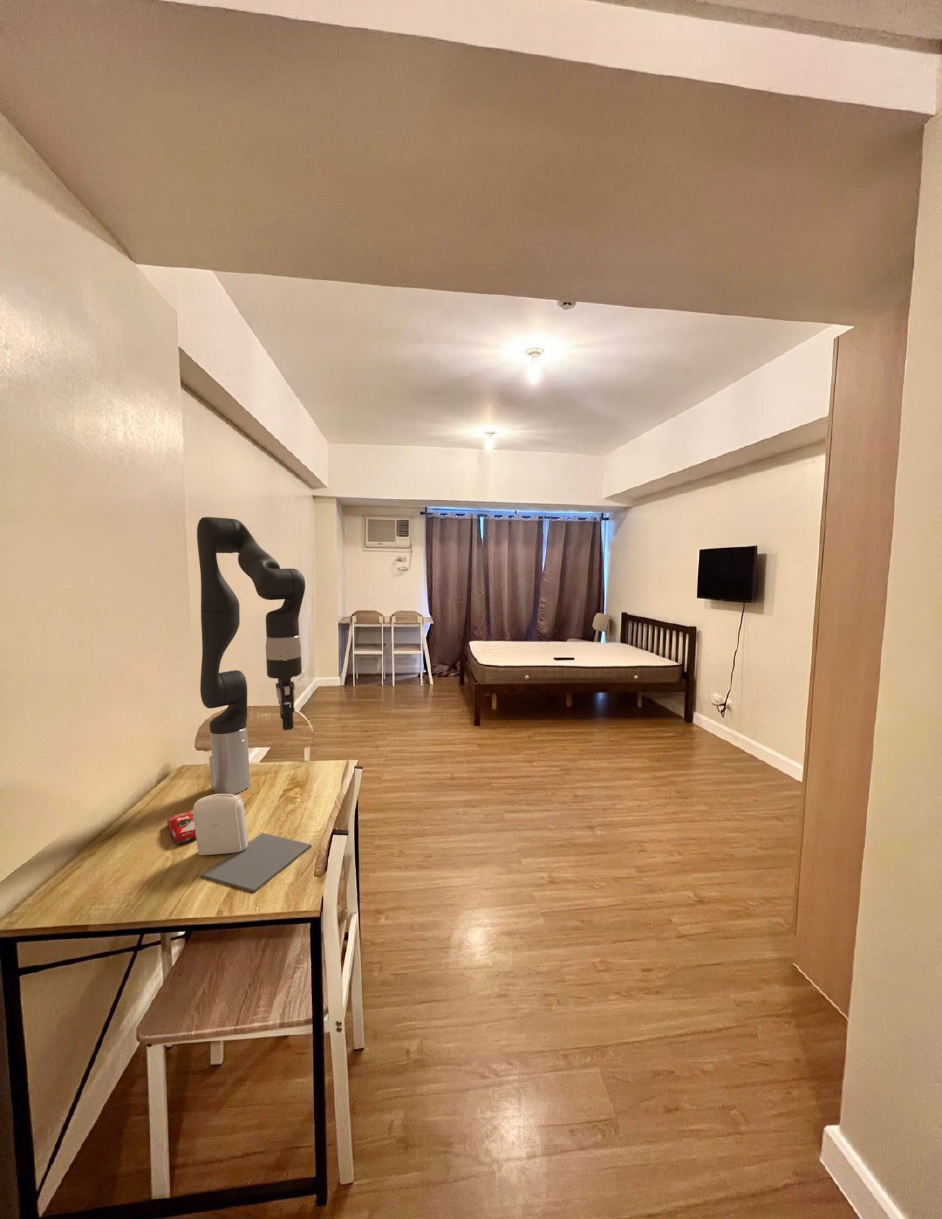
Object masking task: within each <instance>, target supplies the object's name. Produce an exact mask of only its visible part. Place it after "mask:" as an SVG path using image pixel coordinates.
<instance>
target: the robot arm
mask: <svg viewBox="0 0 942 1219" xmlns="http://www.w3.org/2000/svg"><path fill="white" fill-rule="evenodd" d="M196 540H197V552H198V560H199V561H198V562H199V569H200V571H199V573H200V623H201V626H200V627H201V645H202V646H201V649H202V650H201V651H202V652H201V670H200V682H199V683H200V684H199V687H200V689H199V690H200V692H199V693H200V700H201V702H202V704H203V706H204V707H205V708H207V709H217V708H221V707H226V706H227V707H226V708H225V709H224V711H223V712H222V713H220V714H218V715H217V716H216V717H214V718H212V719H211V720H210V722H209V739H210V750H211V753H210V754H211V756H210V757H209V770H210V771H209V774H210V786H211V787H210V789H211V791H213V792H214V795H215V794H233V795H236V794H239V793H241V792H244V791H246V790H247V789H249V788H250V786H251V772H250V756H249V744H248V743H249V740H248V739H249V738H248V728H247V727H248V725H247V724H248V722H247V721H248V683H247V682H248V681H247V679H246V676H245V674H244V673H243V672H242V671H241V670H229V671H224V672H223V671H221V672H220V669H221V668H220V667H221V663H222V659H223V656H224V653H225V652H226V651H227V649H228V648H229V645H230V644H231V642H232V641H233V639H234V638H235V636H236V634H237V632H238V630H239V627H240V621H241V620H240V601H239V598H238V597H237V595H236V593H235V592H234V590H233V589H232V588H231V586H230V584H228V583H227V580H226V579H225V578H224V576H223V575H222V573H221V570H220V568H219V567H220V566H219V564H218V557H217V554H234V553H235V554H236V553H237V554H238V555H237V562H238V565H239V567H240V569H241V571H242V572H243V573H244V574H245V575H246V576H247V577H249V578H250V579H251V581H252V583H253V585H254V587H255V592H256V593H257V595H258V597H260V598H261V599H263V600H267V601H277V600H279V601H280V600H283V603H282V604H281V606H280V608H277V609H273V610H271V611H269V612H267V613H266V616H265V631H266V632H265V634H266V642H265V656H266V657H265V659H266V676H267V677H268V678H269V679H274V680H275V679H277V682H276V683H275V691H276V697H277V699H278V700H277V702H278V705H279V713H280V714H279V717H280V719H281V721H282V729H283V731H289V730H293V729H294V712H295V710H296V709H295V702H296V699H295V698H296V697H295V690H296V686H295V685H296V684H295V682H294V681H292V679H293V678H296V677H298V676H300V675H301V674H302V672H303V669H302V648H301V647H302V646H301V640H300V626H299V625H300V624H299V623H300V622H299V619H300V618H299V617H300V612H301V608H302V604H303V599H304V595H305V593H306V592H305V591H306V580H305V577H304V575H303V573H302V571H300V570H299V569H298V568H297V569H296V568H281V566H280V563H279V562H278V561H277V560H276V559H275V558H274V557H272V556H271V555H270V554H269V553H268V552H267V551H266V550H264V548H262V547H261V546H260V545H259V543H258V542H257V541H256V539H255V538H254V536H253V534H252V533H251V532H250V531H249V529H248V528H247V526H246V525H245V524H244V523H243V522H241V520H239V519H235V518H227V517H214V516H204V517H201V518H200V519H199V521H198V523H197V526H196ZM246 788H247V789H246ZM245 789H246V790H245Z"/></svg>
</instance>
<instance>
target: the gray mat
mask: <svg viewBox="0 0 942 1219" xmlns="http://www.w3.org/2000/svg"><path fill="white" fill-rule="evenodd" d="M311 848H312V843H306V842H302V841H297V840H294V839H289V838H285V837H281V836H276V835H273V834H268V833H264V832H261V834H259V835H257V836H256V837H254V838H252V840H250V841H248V846H247V848H246V849H245V850H243V851H240V852H234V853H229V855H227V856H226V857H225V858H223V859H221V860H220V861H218V862H217V863H216V864H214V865H213V866H211V867H209V868H208V869H207V870H205V871H203V872H202V873H201V874H200V877H201V878H204V877H205V878H204V879H207V878H209V879H208V880H211V881H214V882H218V883H221V884H225V885H227V886H232V887H235V888H238V889H242V890H244V891H248V892H252V893H256V892H257V891H259V890H260V889H261V888H262V887H264V886H265V885H266V884H267V883H269V881H271V880H272V879H274V877H276V876H277V875H278V874H279V873H281V872H282V871H283V870H285V869H286V868H287V867H288V866H289V865H291V864H292V863H293V862H294V861H296V860H297V859H299V857H301V856H302V855H303V854H304V853H306V852H307V851H308V850H309V849H311Z"/></svg>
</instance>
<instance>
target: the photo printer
mask: <svg viewBox="0 0 942 1219" xmlns="http://www.w3.org/2000/svg"><path fill="white" fill-rule="evenodd" d="M245 813H246V812H245V804H244V800H243V797H242V796H240V795H237V794H215V793H214V794H210V795H207V796H203V797H202V798H199V799H198V800H197V801H195V802H194V805H193V808H192V814H193V817H194V825H195V832H196V839H195V840H196V845H197V852H198V853H197V854H198V856H210V855H223V854H232V853H234V852H240V851H243V850H245V849H246V848H247V846H248V842H249V836H248V829H247V827H248V826H247V820H246V814H245Z"/></svg>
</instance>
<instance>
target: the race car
mask: <svg viewBox="0 0 942 1219" xmlns="http://www.w3.org/2000/svg"><path fill="white" fill-rule="evenodd" d="M166 823H167V828H168V831H169V833H170V836H171V838H172V841H173V844H176V845H180V844H184V843H187V842H190V841H193V840H196V832H195V825H194V817H193V813H191V812H181V813H178V814H174V815H173V816H170V817H169V818H168V819H167V822H166Z"/></svg>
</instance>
